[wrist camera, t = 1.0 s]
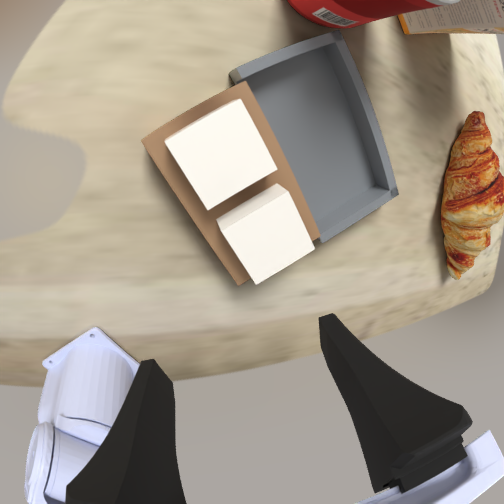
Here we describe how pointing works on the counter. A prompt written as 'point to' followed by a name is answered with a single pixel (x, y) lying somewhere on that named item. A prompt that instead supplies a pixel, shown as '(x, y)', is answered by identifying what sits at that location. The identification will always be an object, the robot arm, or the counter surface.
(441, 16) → the supplement box
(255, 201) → the tile
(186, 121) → the board
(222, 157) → the tile
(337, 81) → the tray
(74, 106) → the counter surface
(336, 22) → the canned food
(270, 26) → the counter surface
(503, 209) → the croissant
